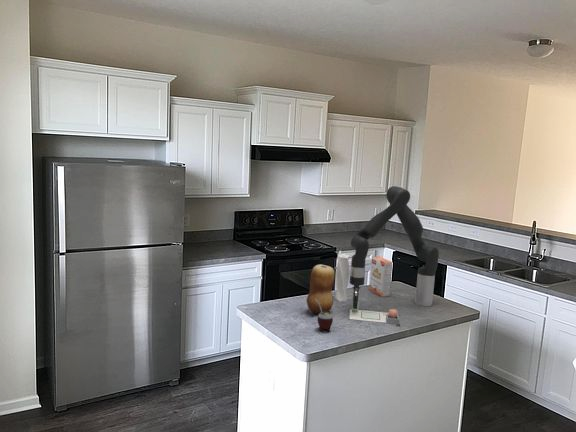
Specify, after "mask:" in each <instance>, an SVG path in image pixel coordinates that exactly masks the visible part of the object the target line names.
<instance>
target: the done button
mask: <svg viewBox="0 0 576 432" xmlns="http://www.w3.org/2000/svg"><path fill="white" fill-rule="evenodd" d="M388 312H389V317H393V318H396V317H397V313H398V309H395V308H389V310H388Z"/></svg>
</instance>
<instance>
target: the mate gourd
mask: <svg viewBox="0 0 576 432" xmlns="http://www.w3.org/2000/svg"><path fill="white" fill-rule="evenodd" d="M314 300H315V299H314ZM315 301H316V302H318V301H317V300H315ZM318 305H319V307H320V310H321V313H320V314H318V316H317V324H318V329H319V332H320V333H321V332H327V333H331V327H332V325H333V322H334V319H333V318H334V317H333V315H332V313H331V312H329V311H328V312H322V309H321V306H320V303H319V302H318Z"/></svg>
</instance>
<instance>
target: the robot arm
mask: <svg viewBox="0 0 576 432" xmlns="http://www.w3.org/2000/svg"><path fill="white" fill-rule="evenodd" d="M386 200H387V201H388V203H389V205H388V206H387V207H385V208H384V210H382V211H381V212H379V213H376V215H374V216H373V217H371V219H370V220H369V221H368V222H367V223H366V225H365V226H364V227H363V228H362V229H360V230H359V231H358V232H357V233H356V234H355V235H353V236H352V238H351V241H350V246H351V247H352V248H353V249H355V251H354V252H355V253H354V254H353V255H352V256H351V264H350V265H351V266H350V275H349V284H350V285H352V292H353V309H357V305H358V298H359V299H360V296H359V294H361V287H362V286H364V284H365V278H366V277H365V276H366V259H367V255H368V252H369V250H370V249H369V248H370V244H369V239H370V238H375V237H376V235H377V234H378V233H379V232H380V231H381V230H382V228H383V227H384V226H385V225H386V224H387V223H388V222H389V221H390V220H391V219H392V218H393V217H395V215H396V217H398V220H399V221H400V223H401V225H402V229H403V230H404V232H405V233H406V235H407V237H408V239H409V241H410V243H411V245H412V248H413V251H414V252H415V255H416V258H417V259H419V260H420V261H422V262H425V265H424V266H421V267H418V269H417V277H416V278H417V279H416V288H415V299H414V300H415V301H414V303H415V304H416V305H418V306H422V307H430V306H432V305H433V300H434V299H433V298H434V288H435V276H436V271H437V269H438V264H439V255H440V253H439V249H438V248H437V247H435V246H432V245H429V244H426V242H425V240H423V238H422V237H423V232H424V226H423V224H422V222H421V221H420V218H419V217H418V216H417V215H416V213H415V212H414V211H413V210H412V209H411V208H410V207H409V205H407V204H408V203H409V202H410V200H411V193H410V191H409V190H407V189H406V188H402V187H400V186H390V187H389V188H388V189H387V191H386ZM354 298H357V299H354Z"/></svg>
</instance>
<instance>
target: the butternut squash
mask: <svg viewBox="0 0 576 432" xmlns="http://www.w3.org/2000/svg"><path fill="white" fill-rule="evenodd" d="M335 277H336V273H335V270H334V268H333V267H331V266H329V265H325V264H316V265H314V266H313V267H312V269H311V274H310V282H309V291H308V294H307V297H306V300H305V302H306V304H307V307H308V309H309V310H310V311H311V312H312V313H313V314H316V315H317V314H318V315H319V314H320V313H321V310H320V307H319V305H318V302H319V303H320V306H321V309H322V312H329V311H330V310H332V307H333V305H334V296H333V292H332V291H333V290H332V289H333V286H334V283H335ZM314 299H315V300H317V301H318V302H316V301H315V300H314Z"/></svg>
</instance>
